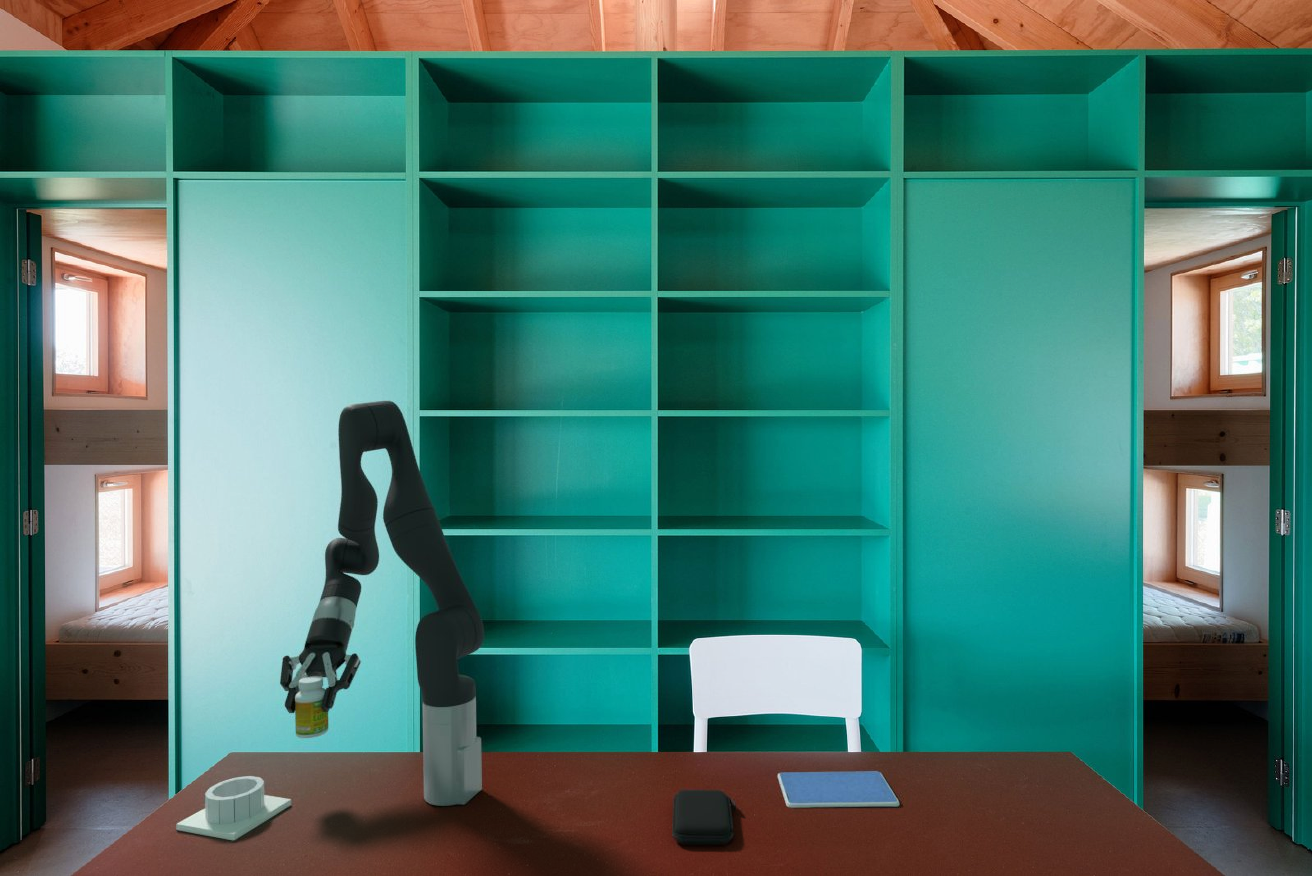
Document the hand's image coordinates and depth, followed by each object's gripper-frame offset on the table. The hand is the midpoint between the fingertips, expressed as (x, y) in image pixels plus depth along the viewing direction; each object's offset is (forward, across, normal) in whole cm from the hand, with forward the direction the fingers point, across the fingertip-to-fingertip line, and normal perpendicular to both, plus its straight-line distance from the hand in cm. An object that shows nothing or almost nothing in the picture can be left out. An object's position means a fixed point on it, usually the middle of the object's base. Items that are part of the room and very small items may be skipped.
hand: (307, 710), depth 133 cm
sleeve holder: (+15, -10, +7) cm, 20 cm away
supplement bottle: (+2, 0, +5) cm, 5 cm away
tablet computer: (+15, +94, +10) cm, 95 cm away
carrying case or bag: (+21, +69, +3) cm, 72 cm away
